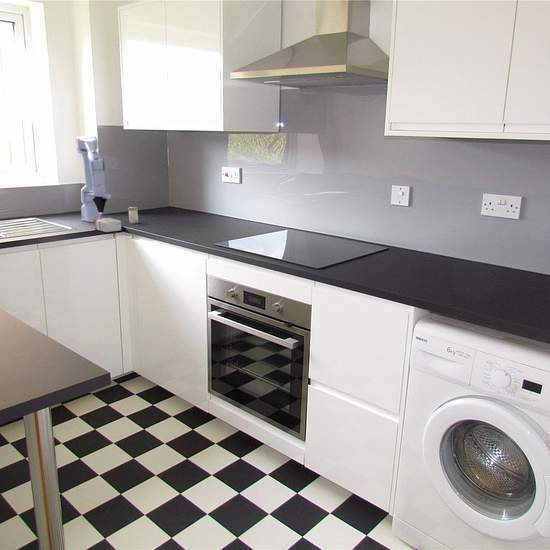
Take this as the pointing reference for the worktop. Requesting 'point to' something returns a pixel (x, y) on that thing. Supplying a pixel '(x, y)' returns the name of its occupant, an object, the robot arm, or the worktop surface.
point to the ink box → (107, 225)
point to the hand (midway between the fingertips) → (100, 212)
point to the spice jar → (133, 215)
